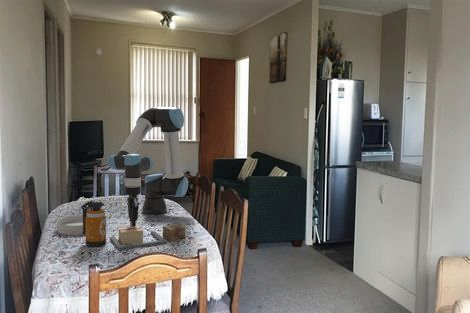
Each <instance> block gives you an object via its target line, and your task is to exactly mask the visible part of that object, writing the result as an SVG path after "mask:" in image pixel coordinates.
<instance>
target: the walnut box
mask: <svg viewBox="0 0 470 313" xmlns="http://www.w3.org/2000/svg"><path fill="white" fill-rule="evenodd" d="M162 238H163V239H165V240H166V241H168V242H170V243H173V242H177V241H179V242H180V241H183V239H184V240H186V227H185V226H183V225H181V224H180V223H174V224H166V225H162Z"/></svg>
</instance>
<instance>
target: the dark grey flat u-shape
mask: <svg viewBox="0 0 470 313" xmlns="http://www.w3.org/2000/svg"><path fill="white" fill-rule="evenodd" d="M150 235H151V236H152V237H154V238H155V239H156V240H154V241H153V240H152V241H147V242H140V243H131V244H122V245H121V243H120V241H119V239H117V238H116V236H115V235H112V236H109V240H110V241H111V242H112V244H113V245H114V246H115V248H116V249H117V250H118V251H124V250H125V251H126V250H131V249H139V248H144V247H146V248H147V247H152V246H159V245H165V244H167V240H166V239H164V238H163V236H161V235H160V234H159V233H158V232H157V231H155V230H151V231H150Z"/></svg>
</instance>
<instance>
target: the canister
mask: <svg viewBox="0 0 470 313" xmlns="http://www.w3.org/2000/svg"><path fill="white" fill-rule="evenodd" d="M103 206H105V203H104V202H102V201H93V200H90V201H87V202H85V203H84V204H82V205H81V206H80V207H81V210H82V215H83V232H82V235H84V236H85V244H86V245H87V246H89V247H99V246H102V245H104V244H106V243H107V216H106V214H105V213H106V212H105V210H104V208H102V207H103Z"/></svg>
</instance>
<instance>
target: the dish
mask: <svg viewBox="0 0 470 313" xmlns="http://www.w3.org/2000/svg"><path fill="white" fill-rule="evenodd" d="M56 222H57V223H56V224H57V227H56V230H57V233H59V234H61V235H67V236H81V235H80V234H82V232H83V214H75V215H68V216H65V217H61V218H59V219H58V220H57V221H56ZM82 235H83V234H82Z"/></svg>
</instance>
